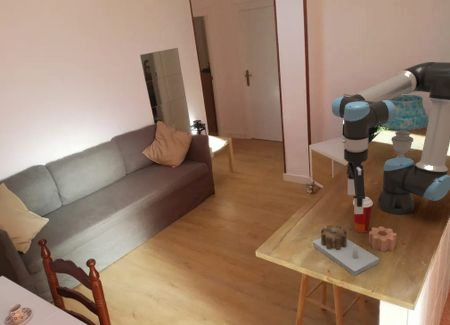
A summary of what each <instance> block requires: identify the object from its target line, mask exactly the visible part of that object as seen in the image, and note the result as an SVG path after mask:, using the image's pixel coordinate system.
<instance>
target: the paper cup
mask: <svg viewBox="0 0 450 325" xmlns="http://www.w3.org/2000/svg"><path fill="white" fill-rule="evenodd" d="M354 201H355V198H353V201H352V204H353V205H354ZM373 204H374V202H373V201H372V199H371V198H370V197H368V196H365V199H363V214H354V213H353V218H354V219H353V220H354V221H353V222H354V230H355V231H356V232H359V233H367V232H369V231H370V230H369V229H370V223H371V216H372V208H373Z"/></svg>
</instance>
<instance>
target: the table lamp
mask: <svg viewBox="0 0 450 325" xmlns="http://www.w3.org/2000/svg"><path fill="white" fill-rule="evenodd" d="M423 99H424V98H423V96H420V95H416V94H401V95H399V96H397V97H395V98H393V99H391V100H389V101H391V102H392V103H393V104H394V105H395V107H396V115H395V117H394V118H393V119H392V120H391V121H389V122H387V123H384V124H381V125H380V126H381V127H382V128H386V129H388V130H394V131H395V130H396V131H395V133H394V136H392V137H391V139H390V140H391V142H392V147H393V150H394V151H395V152H396V153H397V156H395V157H394V158H407V157H406V155H405V154H406V153H407V152H409V150H410V149H411V147H412V143H413V142H414V138H413V137H412V136H411V132H410V131H416V130H421V129H425V128H427V126H428V122H429V116H428V114H427V113H426V109H425V107H424V104H423V102H424V100H423Z"/></svg>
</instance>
